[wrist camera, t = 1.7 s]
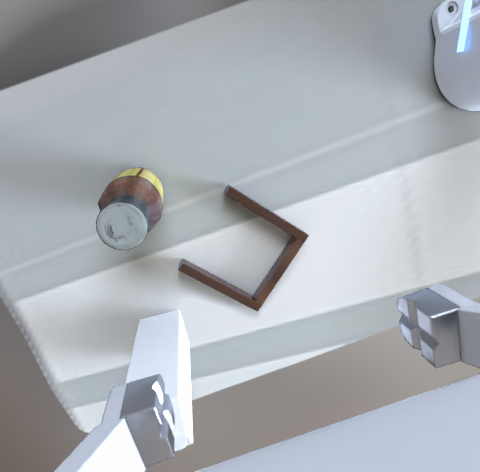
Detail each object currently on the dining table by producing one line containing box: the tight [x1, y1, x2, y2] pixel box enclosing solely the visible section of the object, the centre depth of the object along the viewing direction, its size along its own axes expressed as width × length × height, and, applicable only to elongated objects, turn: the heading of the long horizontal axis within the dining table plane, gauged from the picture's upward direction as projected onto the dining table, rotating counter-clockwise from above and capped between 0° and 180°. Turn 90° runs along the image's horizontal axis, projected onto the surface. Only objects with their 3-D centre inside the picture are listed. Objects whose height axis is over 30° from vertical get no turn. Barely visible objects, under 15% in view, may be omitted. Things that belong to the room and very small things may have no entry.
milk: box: [125, 309, 193, 451], centre depth 43 cm, size 6×6×22 cm
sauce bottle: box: [96, 168, 163, 250], centre depth 38 cm, size 7×6×20 cm
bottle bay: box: [179, 185, 309, 311], centre depth 51 cm, size 13×13×2 cm
